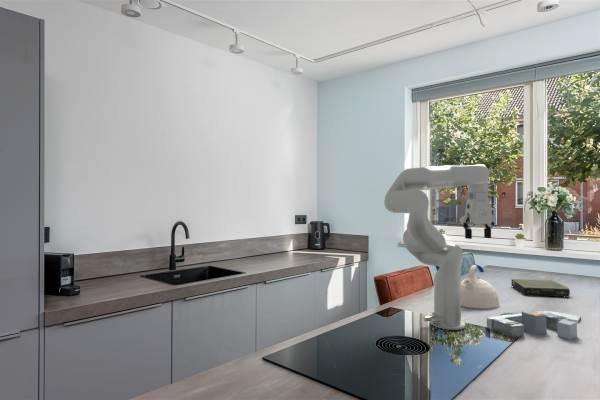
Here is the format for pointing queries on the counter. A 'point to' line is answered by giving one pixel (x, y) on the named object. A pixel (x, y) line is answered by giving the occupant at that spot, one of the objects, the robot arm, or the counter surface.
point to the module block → (534, 322)
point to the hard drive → (568, 316)
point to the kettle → (478, 292)
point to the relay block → (567, 329)
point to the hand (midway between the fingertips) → (478, 238)
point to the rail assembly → (519, 323)
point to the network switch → (540, 287)
